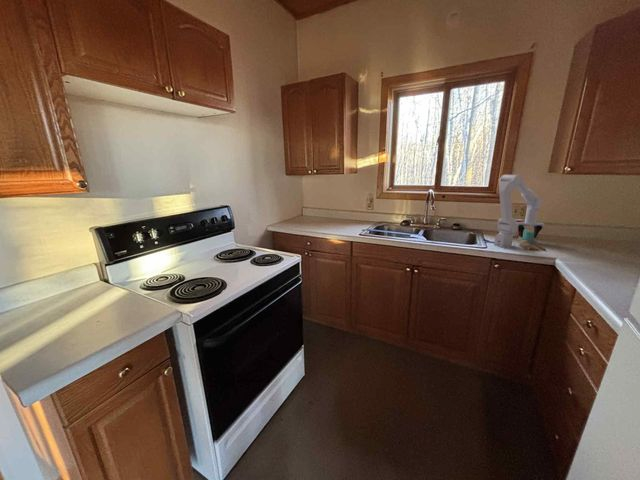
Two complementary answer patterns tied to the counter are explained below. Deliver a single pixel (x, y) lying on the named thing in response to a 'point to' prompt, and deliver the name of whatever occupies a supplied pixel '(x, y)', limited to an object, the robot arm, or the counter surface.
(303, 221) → the counter surface
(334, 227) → the counter surface
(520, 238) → the stand
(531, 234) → the board
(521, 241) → the offcut
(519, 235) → the soda can
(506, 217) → the robot arm
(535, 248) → the rack
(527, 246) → the offcut
